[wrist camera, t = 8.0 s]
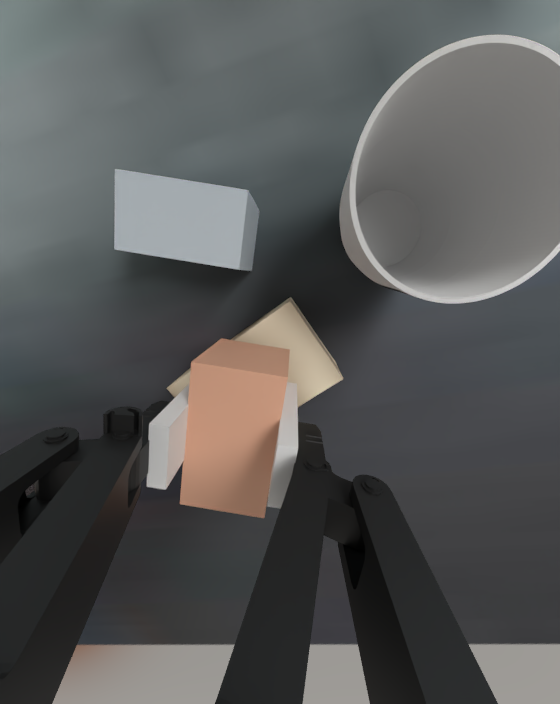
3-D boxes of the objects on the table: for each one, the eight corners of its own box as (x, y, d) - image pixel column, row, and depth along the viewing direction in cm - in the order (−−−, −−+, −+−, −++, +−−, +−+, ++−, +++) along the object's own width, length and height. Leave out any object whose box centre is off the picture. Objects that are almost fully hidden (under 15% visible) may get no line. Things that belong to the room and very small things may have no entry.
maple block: (290, 296, 21) (289, 300, 17) (335, 361, 22) (343, 378, 18) (188, 369, 23) (166, 388, 19) (233, 425, 24) (221, 454, 20)
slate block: (156, 255, 21) (114, 249, 16) (158, 194, 20) (114, 168, 15) (252, 271, 21) (239, 269, 16) (259, 211, 20) (248, 190, 15)
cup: (335, 302, 21) (370, 325, 11) (311, 181, 19) (328, 82, 9) (451, 274, 20) (598, 273, 10) (438, 144, 18) (604, -8, 8)
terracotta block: (221, 338, 17) (191, 362, 12) (289, 349, 17) (287, 377, 12) (210, 445, 18) (179, 504, 13) (272, 455, 18) (264, 518, 13)
